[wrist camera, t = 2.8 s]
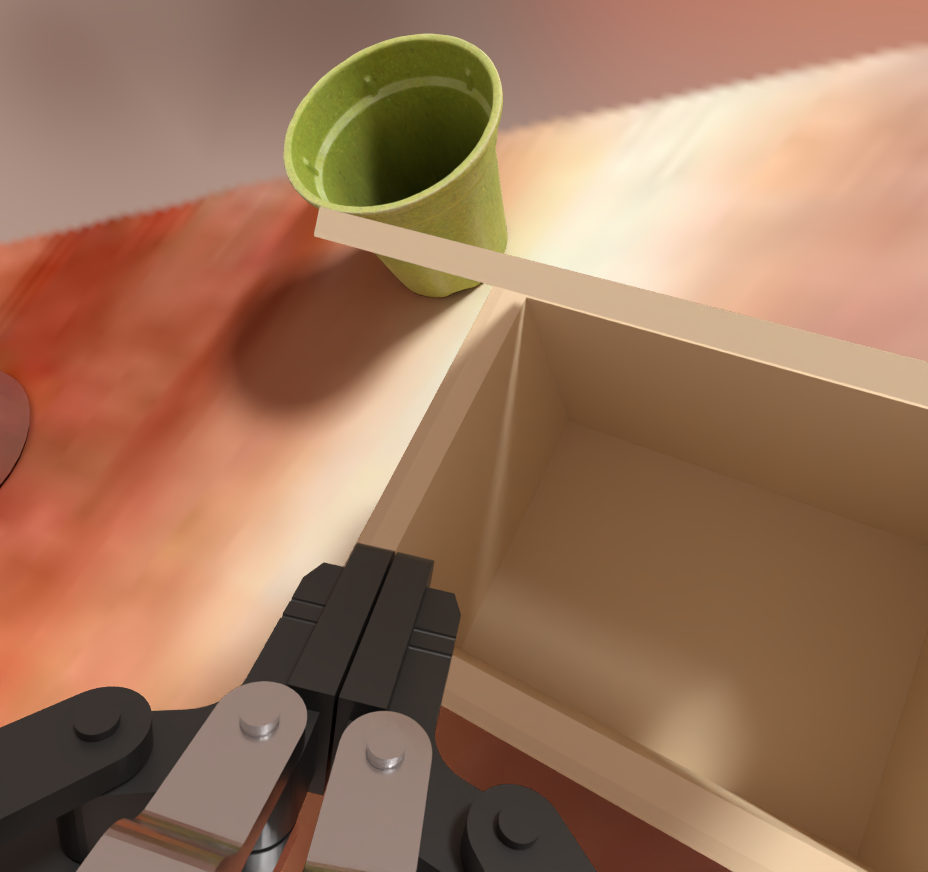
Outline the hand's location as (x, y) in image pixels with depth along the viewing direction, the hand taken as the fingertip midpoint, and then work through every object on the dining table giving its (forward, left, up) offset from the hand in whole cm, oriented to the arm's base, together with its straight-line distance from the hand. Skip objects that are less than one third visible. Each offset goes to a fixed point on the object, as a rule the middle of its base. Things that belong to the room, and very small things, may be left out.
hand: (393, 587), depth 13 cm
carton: (+4, +4, -15) cm, 17 cm away
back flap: (+4, +10, -5) cm, 12 cm away
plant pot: (-13, +16, -16) cm, 26 cm away
